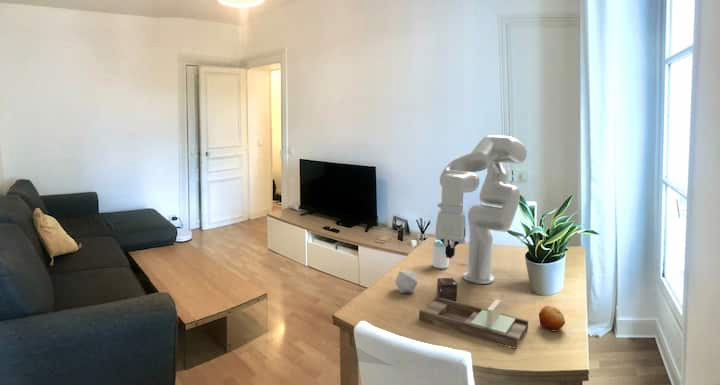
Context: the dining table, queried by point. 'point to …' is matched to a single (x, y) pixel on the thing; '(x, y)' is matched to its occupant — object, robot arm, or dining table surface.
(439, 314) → the brown wooden tray
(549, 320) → the fruit
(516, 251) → the dining table surface
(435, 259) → the can
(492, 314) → the lid
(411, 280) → the die
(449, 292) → the box
